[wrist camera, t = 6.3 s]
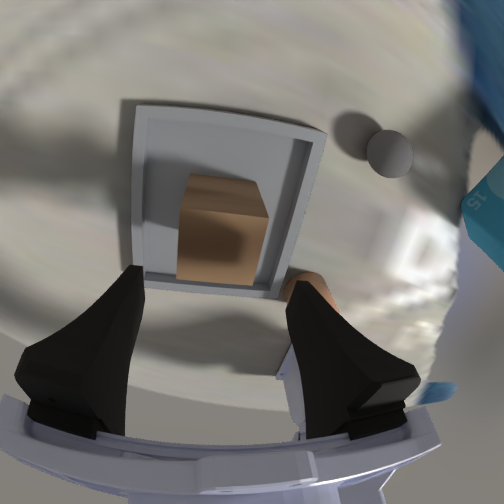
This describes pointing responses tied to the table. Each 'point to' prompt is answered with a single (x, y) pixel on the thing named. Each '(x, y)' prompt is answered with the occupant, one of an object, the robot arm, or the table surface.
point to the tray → (221, 165)
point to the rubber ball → (389, 154)
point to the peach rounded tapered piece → (315, 281)
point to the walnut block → (220, 230)
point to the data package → (487, 214)
